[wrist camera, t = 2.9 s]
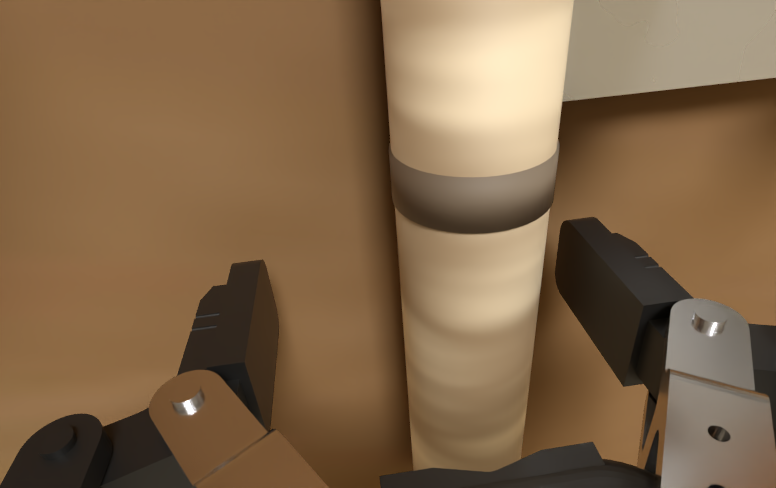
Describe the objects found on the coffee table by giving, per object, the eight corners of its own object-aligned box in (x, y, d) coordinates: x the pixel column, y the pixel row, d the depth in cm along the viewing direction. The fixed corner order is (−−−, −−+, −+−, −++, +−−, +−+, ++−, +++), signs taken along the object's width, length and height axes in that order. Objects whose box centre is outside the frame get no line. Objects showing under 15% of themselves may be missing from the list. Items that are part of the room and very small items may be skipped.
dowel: (447, 442, 20) (532, 490, 18) (394, 515, 18) (485, 578, 16) (441, -225, 10) (643, -278, 8) (307, -261, 7) (551, -350, 5)
